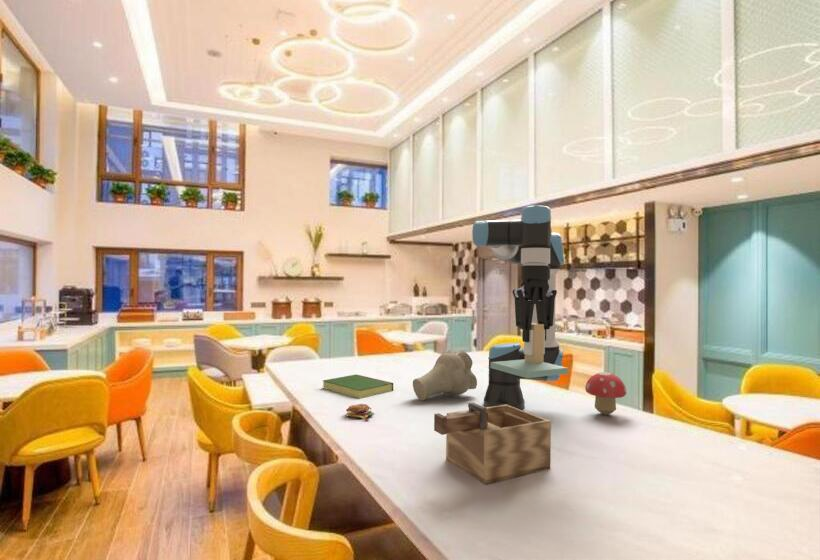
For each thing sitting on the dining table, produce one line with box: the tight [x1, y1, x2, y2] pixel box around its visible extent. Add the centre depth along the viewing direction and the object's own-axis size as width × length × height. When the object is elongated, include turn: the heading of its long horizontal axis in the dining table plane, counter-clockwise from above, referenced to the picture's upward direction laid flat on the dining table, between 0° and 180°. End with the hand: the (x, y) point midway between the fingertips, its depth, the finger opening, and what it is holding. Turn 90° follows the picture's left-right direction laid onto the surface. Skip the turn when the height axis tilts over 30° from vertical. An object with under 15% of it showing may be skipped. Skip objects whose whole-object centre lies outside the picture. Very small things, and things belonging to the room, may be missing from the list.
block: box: [433, 411, 488, 436], centre depth 109 cm, size 13×3×4 cm, turn 118°
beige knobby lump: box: [412, 349, 478, 401], centre depth 186 cm, size 22×22×28 cm
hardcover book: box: [322, 373, 394, 399], centre depth 198 cm, size 25×19×4 cm
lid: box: [490, 323, 569, 378], centre depth 117 cm, size 13×14×12 cm
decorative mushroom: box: [584, 371, 627, 415], centre depth 164 cm, size 13×13×15 cm
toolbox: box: [445, 402, 552, 485], centre depth 118 cm, size 24×17×17 cm
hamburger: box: [345, 403, 375, 423], centre depth 158 cm, size 14×14×6 cm
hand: (534, 353), depth 122 cm, fingers closed on lid, 3 cm apart
